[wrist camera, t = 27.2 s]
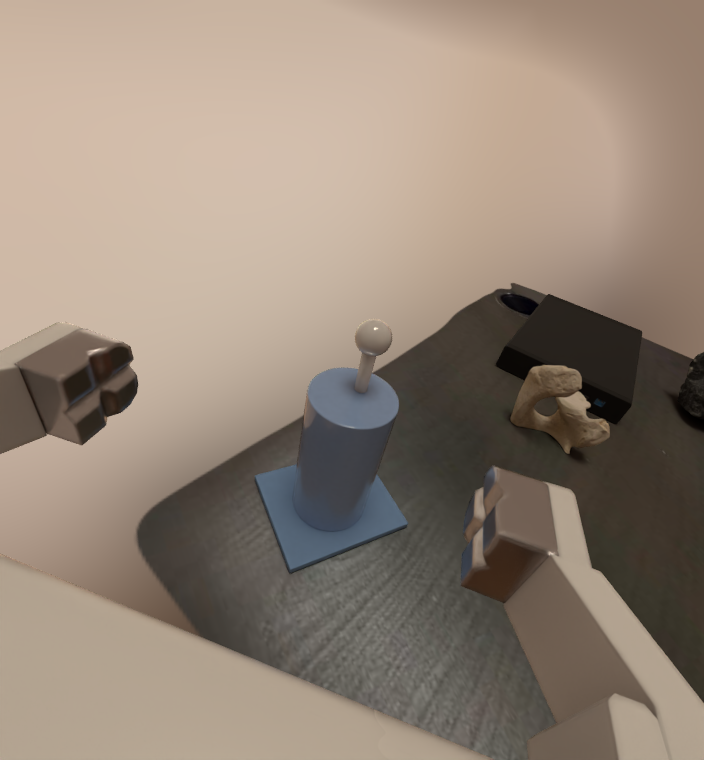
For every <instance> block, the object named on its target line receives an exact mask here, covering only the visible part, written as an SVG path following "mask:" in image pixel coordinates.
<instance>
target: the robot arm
mask: <svg viewBox="0 0 704 760" xmlns="http://www.w3.org/2000/svg"><path fill="white" fill-rule="evenodd" d="M132 360H133V355H132V351H131V347H130V346H128V345H127V344H125V343H124V342H121V341H118V340H115V339H113V338H110V337H107V336H104V335H101V334H98V333H96V332H93V331H90V330H88V329H83V328H80V327H77V326H75V325H72V324H69V323H67V322H65V323H55V324H53V325H51V326H49V327H47V328H45V329H43V330H41V331H39V332H37V333H35V334H33V335H31V336H29V337H27V338H25V339H23V340H21V341H19V342H17V343H15V344H13V345H11V346H9V347H7V348H5V349H3V350H1V351H0V454H1V453H4V452H7V451H9V450H12V449H14V448H17V447H19V446H22V445H24V444H27V443H29V442H32V441H34V440H37V439H40V438H42V437H44V436H46V433H47V434H50V435H53V436H56V437H59V438H62V439H65V440H67V441H70V442H73V443H76V444H79V445H83V444H84V443H86V442H87V441H88V440H89V439H90V438H91V437H93V436H94V435H95V434H96V433H97V432H99V431H100V430H101V429H102V428H103V427H105V425H106V422H107V417H109V416H112V415H115V414H118V413H121V412H122V411H123V410H125V408H127V407H128V406H129V405H130V404H131V402H132V401H133V399H134V397H135V395H136V394H137V387H138V380H137V375H136V374H135V372H134V371H133V369H132V368H131V367H130V365H129V364H130V363H131V362H132ZM463 535H464V536H465V538H466V540H467V542H468V546H467V547H466V549H465V550H464V552H463V553H462V565H461V585H460V586H462V587H465V588H467V589H470V590H472V591H475V592H477V593H480V594H482V595H485V596H487V597H490V598H492V599H495V600H497V601H500V602H502V603H505V604H504V605H503V606H504V608H505V610H506V613H507V615H508V617H509V619H510V621H511V624H512V626H513V628H514V630H515V632H516V635H517V637H518V639H519V641H520V643H521V646H522V648H523V650H524V652H525V654H526V657H527V659H528V661H529V663H530V665H531V668H532V670H533V672H534V674H535V677H536V679H537V681H538V683H539V685H540V688H541V690H542V692H543V694H544V696H545V699H546V701H547V703H548V705H549V707H550V710H551V712H552V714H553V716H554V718H555V721H556V723H557V724H555V725H553V726H551V727H549V728H547V729H545V730H543V731H541V732H539V733H538V734H536V735H534V736H533V737H531V738H530V739H529V740H528V741H527V752H528V760H704V703H703V702H702V701H701V699H700V698H699V697H698V695H697V694H696V693H695V692H694V690H693V689H692V688H691V687H690V685H689V684H688V683H687V681H686V680H685V679H684V678H683V676H682V675H681V674H680V672H679V671H678V670H677V669H676V667H675V666H674V665H673V664H672V662H671V661H670V660H669V658H668V657H667V656H666V655H665V653H664V652H663V651H662V649H661V648H660V647H659V646H658V644H657V643H656V642H655V641H654V639H653V638H652V637H651V635H650V634H649V633H648V632H647V630H646V629H645V628H644V626H643V625H642V624H641V623H640V621H639V620H638V619H637V618H636V616H635V615H634V614H633V612H632V611H631V610H630V609H629V607H628V606H627V605H626V603H625V602H624V601H623V600H622V598H621V597H620V596H619V595H618V593H617V592H616V591H615V589H614V588H613V587H612V586H611V584H610V583H609V582H608V580H607V579H606V578H605V577H604V575H603V574H602V573H601V572H600V571H598V570H595V569H592V567H591V562H590V558H589V554H588V549H587V545H586V541H585V537H584V532H583V528H582V524H581V519H580V515H579V511H578V507H577V502H576V498H575V494H574V493H573V492H572V491H571V490H570V489H567V488H564V487H561V486H557V485H554V484H551V483H548V482H543V481H541V480H538V479H535V478H531V477H528V476H525V475H522V474H519V473H516V472H513V471H510V470H507V469H504V468H501V467H497V466H494V465H493V466H492V467H490V468H489V469H488V471H487V472H486V474H485V476H484V485H483V488H481V489H479V490H476V491H475V492H474V494H473V496H472V498H471V500H470V502H469V505H468V508H467V511H466V514H465V520H464V530H463ZM0 760H494V759H492V758H489V757H487V756H485V755H482V754H480V753H477V752H475V751H473V750H470V749H468V748H465V747H463V746H461V745H458V744H456V743H453V742H451V741H449V740H446V739H444V738H441V737H439V736H437V735H434V734H432V733H429V732H427V731H425V730H422V729H420V728H417V727H415V726H413V725H410V724H408V723H405V722H403V721H401V720H398V719H396V718H393V717H391V716H389V715H386V714H384V713H381V712H379V711H377V710H374V709H372V708H369V707H367V706H365V705H362V704H360V703H357V702H355V701H353V700H350V699H348V698H345V697H343V696H341V695H338V694H336V693H334V692H331V691H329V690H326V689H324V688H322V687H319V686H317V685H314V684H312V683H310V682H307V681H305V680H302V679H300V678H298V677H295V676H293V675H290V674H288V673H286V672H283V671H281V670H278V669H276V668H274V667H271V666H269V665H266V664H264V663H262V662H259V661H257V660H254V659H252V658H250V657H247V656H245V655H242V654H240V653H238V652H235V651H233V650H230V649H228V648H226V647H223V646H221V645H218V644H216V643H214V642H211V641H209V640H206V639H204V638H202V637H199V636H197V635H194V634H192V633H190V632H187V631H185V630H182V629H180V628H177V627H175V626H173V625H170V624H168V623H166V622H163V621H160V620H158V619H156V618H153V617H151V616H149V615H146V614H144V613H142V612H139V611H137V610H134V609H132V608H130V607H127V606H125V605H122V604H120V603H118V602H115V601H113V600H110V599H108V598H105V597H103V596H101V595H98V594H96V593H93V592H91V591H89V590H86V589H84V588H81V587H79V586H77V585H74V584H72V583H70V582H67V581H65V580H62V579H60V578H57V577H55V576H53V575H51V574H48V573H46V572H43V571H41V570H39V569H36V568H34V567H31V566H28V565H27V564H24V563H21V562H19V561H17V560H15V559H12V558H10V557H7V556H5V555H3V554H0Z"/></svg>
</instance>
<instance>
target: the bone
mask: <svg viewBox="0 0 704 760" xmlns="http://www.w3.org/2000/svg"><path fill="white" fill-rule="evenodd" d="M580 389H582V377H581V375H580V373H579V372H578V371H577V370H575V369H571V368H567V367H566V366H558V365H555V366H554V365H543V366H536V367H533V368H532V369H531V370H530V371H529V373H528V376H527V378H526V379H525V382H524V384H523V386H522V388H521V390H520V392H519V395H518V397H517V401H516V404H515V406H514V408H513V412H512V415H511V418H510V420H511V422H512V423H513V424H515V425H516V426H520V427H526V428H531V429H535V430H540V431H544V432H547V433H549V434H550V435H552V436H553V437H554V438H555V439H556V440H557V441H558V442H559V443H560V445H561V446H562V448H563V450H564V451H565V452H566V453H567V454H570V448H571V447H572V446H574V447H577V448H584V447H590V446H595V445H598V444H600V443H602V442H603V441H605V440H606V439H608V438H609V437H610V436H609V435H610V433H609V431H610V430H609V425H608V423H606V421H605V419H590V418H588V417H587V416H586V409H588V408H590V407H591V404H590V403H589V402H587V401H586V398H585V397H584V395H582V394H581V392H579V391H578V390H580ZM577 391H578V392H577ZM548 397H555V398H556V401H557V404H558V410H557V412H556V413H555V414H554V415H552V416H548V417H545V416H542V415H540V414H539V413H537V412H536V410H535V409H534V405H535V404H536V403H537V402H538V401H540V400H542V399H544V398H548Z"/></svg>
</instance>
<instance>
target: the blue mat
mask: <svg viewBox="0 0 704 760" xmlns="http://www.w3.org/2000/svg"><path fill="white" fill-rule="evenodd" d="M296 465H297V464H296ZM296 465H293V466H289V467H285V468H281V469H278V470H274V471H270V472H267V473H263V474H259V475H256V476H255V481H256V484H257V487H258V490H259V492H260V495H261V498H262V500H263V503H264V506H265V508H266V511H267V514H268V516H269V519H270V522H271V525H272V527H273V530H274V533H275V535H276V538H277V541H278V543H279V546H280V549H281V552H282V554H283V557H284V560H285V562H286V565H287V568H288V570H289V573H292V572H294V571H297V570H300V569H302V568H305V567H307V566H310V565H312V564H315V563H317V562H320V561H322V560H325V559H327V558H330V557H332V556H335V555H337V554H340V553H342V552H345V551H347V550H350V549H352V548H355V547H357V546H360V545H362V544H365V543H367V542H370V541H372V540H375V539H377V538H380V537H382V536H385V535H387V534H390V533H393V532H395V531H398V530H400V529H403V528H405V527H407V525H408V522H407V521H406V519H405V518H404V516H403V514H402V513H401V511H400V510H399V508H398V507H397V505H396V503H395V502H394V500H393V499H392V497H391V496H390V494H389V492H388V491H387V489H386V488H385V486H384V485H383V483H382V481H381V480H380V478H379V477H378V475H376V478H375V481H374V483H373V486H372V489H371V492H370V495H369V498H368V501H367V504H366V507H365V510H364V512H363V515H362V516H361V518H360V519H359V520H358V521H357V522H356V523H355V524H354V525H352V526H351V527H349V528H347V529H344V530H340V531H323V530H319V529H316V528H314V527H312V526H310V525H308V524H307V523H306V522H304V521H303V520H302V519H301V518H300V516H299V515H298V514H297V512H296V510H295V508H294V505H293V501H292V493H293V486H294V479H295V472H296Z"/></svg>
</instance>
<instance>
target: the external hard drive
mask: <svg viewBox="0 0 704 760" xmlns="http://www.w3.org/2000/svg"><path fill="white" fill-rule="evenodd" d="M641 338H642V331H640V330H638V329H636V328H633V327H631V326H628V325H625V324H623V323H620V322H618V321H615V320H613V319H610V318H608V317H605V316H603V315H600V314H598V313H595V312H593V311H590V310H587V309H585V308H583V307H580V306H577V305H575V304H573V303H570V302H568V301H565V300H563V299H560V298H557V297H555V296H553V295H550V294H548V295H547V296H546V297H545V298H544V300H543V301H542V302H541V303H540V305H539V306H538V307H537V308H536V309H535V311H534V312H533V313H532V314H531V316H530V317H529V318H528V319H527V320H526V322H525V323H524V324H523V325H522V327H521V328H520V329H519V330H518V331H517V333H516V334H515V335H514V336H513V338H512V339H511V340H510V341H509V342H508V344H507V345H506V346H505V347H504V349H503V351H502V353H501V355H500V357H499V359H498V361H497V363H496V365H497V366H498V367H499V368H502V369H504V370H506V371H508V372H510V373H512V374H514V375H516V376H518V377H520V378H522V379H524V380H525V379H526V378H527V376H528V373H529V371H530V370H531V369H532V368H533V367H536V366H543V365H554V366H555V365H558V366H566V367H567V368H571V369H575V370H577V371H578V372H579V373H580V375H581V377H582V389H580V390H578V391H579V392H581V394H582V395H584V397H585V398H586V401H587V402H589V403H590V404H591V407H590V408H588V409H586V410H587V411H589V412H591V413H593V414H595V415H598V416H600V417H602V418H604V419H606V420H608V421H610V422H612V423H614V424H616V423H618V422H619V420H620V419H621V418H622V417H623V416H624V414H625V413H626V412H627V411H628V410H629V408H630V407H631V405H632V398H633V391H634V385H635V378H636V371H637V364H638V358H639V351H640V344H641ZM578 391H577V392H578Z"/></svg>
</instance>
